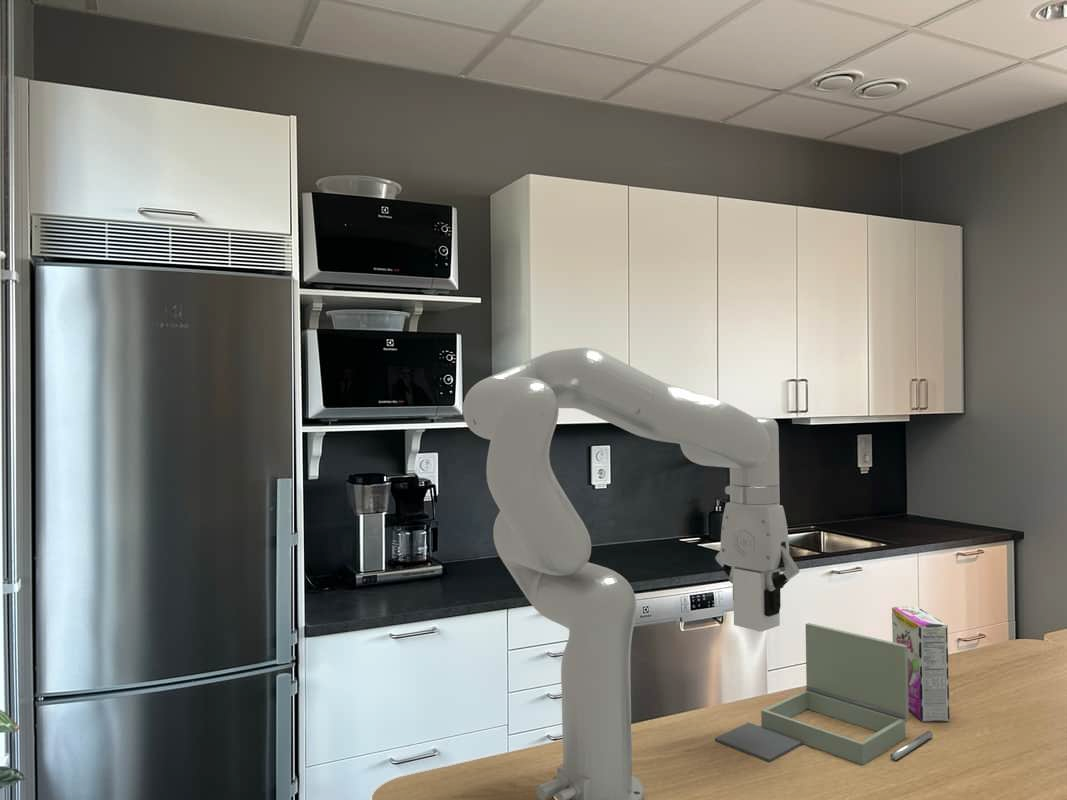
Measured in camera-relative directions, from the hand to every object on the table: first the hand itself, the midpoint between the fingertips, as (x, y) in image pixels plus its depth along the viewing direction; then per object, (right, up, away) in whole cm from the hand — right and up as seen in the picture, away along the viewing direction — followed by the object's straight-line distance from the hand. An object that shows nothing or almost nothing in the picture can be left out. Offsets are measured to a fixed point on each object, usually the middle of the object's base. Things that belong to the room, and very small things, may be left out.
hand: (756, 609), depth 126 cm
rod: (+23, -21, -3) cm, 31 cm away
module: (0, -2, 0) cm, 2 cm away
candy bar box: (+32, -21, +12) cm, 39 cm away
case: (+13, -21, +3) cm, 25 cm away
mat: (0, -21, 0) cm, 21 cm away
